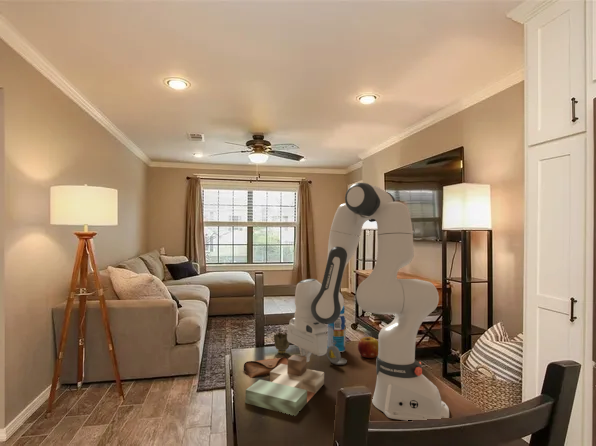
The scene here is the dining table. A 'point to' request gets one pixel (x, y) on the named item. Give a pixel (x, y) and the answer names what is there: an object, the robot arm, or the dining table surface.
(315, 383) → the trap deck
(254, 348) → the dining table surface
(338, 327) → the blue labeled canister
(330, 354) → the pocket watch
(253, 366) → the sunglasses case
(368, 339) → the fruit
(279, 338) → the cup
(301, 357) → the walnut block
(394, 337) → the robot arm
